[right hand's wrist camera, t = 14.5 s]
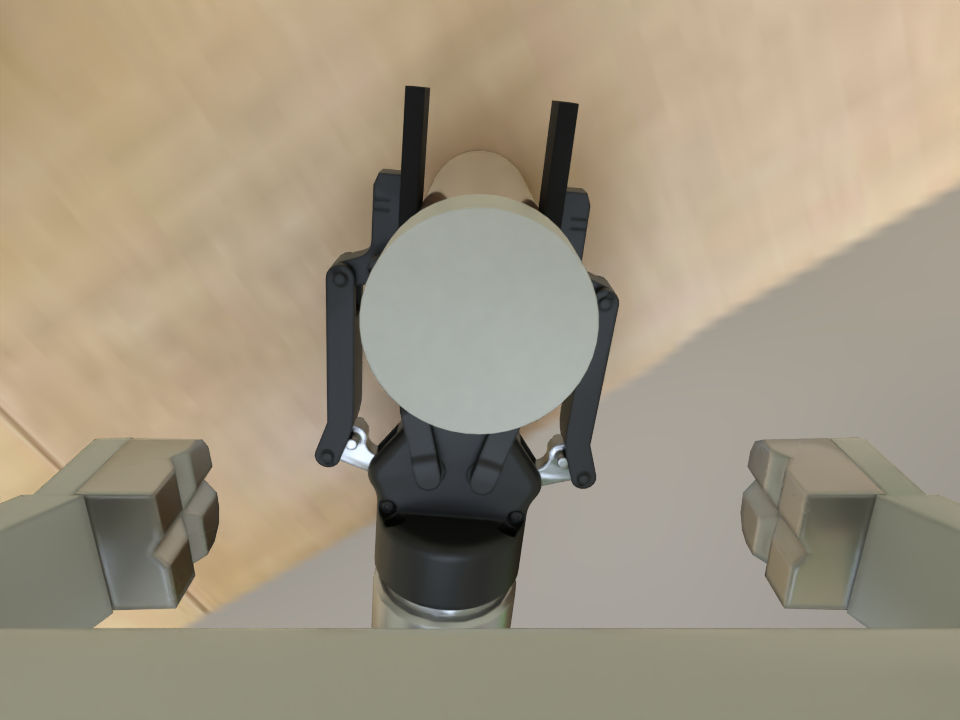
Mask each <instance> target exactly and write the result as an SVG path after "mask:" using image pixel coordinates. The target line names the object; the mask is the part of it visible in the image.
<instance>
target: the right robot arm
mask: <svg viewBox="0 0 960 720" xmlns="http://www.w3.org/2000/svg"><path fill="white" fill-rule="evenodd" d="M211 468H212V462H211V457H210V453H209V448H208V446H207V445H206V444H205V442H204V441H203V440H197V439H142V438H137V439H134V438H104V439H95V440H93V441H92V442H91V443H90V444H89V445H88V446H87V447H86V448H85V449H83V450H82V451H81V452H80V453H79V454H78V455H77V456H76V457H75V458H73V459H72V460H71V461H70V462H69V463H68V464H67V465H66V466H65V467H63V468H62V469H61V470H60V471H59V472H58V473H57V474H56V475H55V476H53V477H52V478H51V479H50V480H49V481H48V482H47V483H46V484H45V485H43V486H42V487H41V488H40V489H39V490H38V491H37V492H36V493H35V494H33V495H20V496H18V497H15V498H13V499H10V500H8V501H5V502H3V503H0V720H960V503H957V502H955V501H952V500H950V499H947V498H945V497H942V496H940V495H927V494H925V493H924V492H923V491H922V490H921V489H920V488H919V487H918V486H917V485H915V484H914V483H913V482H912V481H911V480H910V479H909V478H908V477H907V476H905V475H904V474H903V473H902V472H901V471H900V470H899V469H898V468H897V467H896V466H894V465H893V464H892V463H891V462H890V461H889V460H888V459H887V458H886V457H884V456H883V455H882V454H881V453H880V452H879V451H878V450H877V449H876V448H875V447H873V446H872V445H871V444H870V443H869V442H868V441H867V440H864V439H860V438H835V439H829V438H814V439H772V440H759V441H755V442H754V445H753V447H752V449H751V451H750V456H749V462H748V468H749V470H750V471H751V473H752V474H753V476H754V477H755V479H756V480H755V481H754V482H753V483H752V484H751V485H750V486H749V487H748V488H747V489H746V490H745V491H744V492H743V498H742V506H741V522H742V531H743V534H744V537H745V541H746V544H747V545H748V547H749V549H750V551H751V553H752V554H753V555H754V556H755V557H757V558H759V559H760V560H762V561H764V562H765V563H767V566H766V572H765V577H766V578H767V580H768V582H769V583H770V585H771V587H772V589H773V590H774V592H775V594H776V595H777V597H778V599H779V600H780V602H781V604H782V605H783V607H784V608H789V609H825V610H847V613H848V614H849V615H851V616H852V617H853V618H855V619H856V620H857V621H859V622H860V623H862V624H863V625H864V626H866V627H867V628H93V627H95V626H96V625H97V624H99V623H100V622H101V621H103V620H104V619H106V618H107V617H108V616H110V615H111V614H112V613H113V611H112V610H134V609H170V608H176V607H177V606H178V604H179V602H180V600H181V599H182V597H183V595H184V594H185V592H186V590H187V589H188V587H189V585H190V584H191V582H192V580H193V578H194V577H195V572H194V566H193V563H195V562H196V561H198V560H200V559H201V558H203V557H205V556H206V555H207V554H208V553H209V551H210V549H211V547H212V545H213V543H214V542H215V537H216V533H217V529H218V525H219V504H218V497H217V492H216V491H215V490H214V489H213V488H212V487H211V486H210V485H209V484H208V483H207V482H206V481H205V480H204V479H205V477H206V476H207V474H208V473H209V471H210V470H211Z"/></svg>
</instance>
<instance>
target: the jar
mask: <svg viewBox="0 0 960 720" xmlns="http://www.w3.org/2000/svg"><path fill="white" fill-rule="evenodd" d="M471 194H487V195H497V196H502V197H507V198H510V199H513V200H516V201H519V202H522V203H524V204H526V205H528V206H530V207H532V208H534V209H536V210H537V211H539V209H538V207H537V205H536V203H535V201H534V199H533V197H532V195H531V193H530V191H529V189H528V186H527V184H526V182H525V180H524V178H523V176H522V175H521V173H520V171H519V170H518V169H517V168H516V167H515V165H514V164H512V163H511V162H510V161H509V160H507V159H506V158H505V157H503V156H501V155H499V154H496V153H493V152H489V151H481V150H477V151H469V152H465V153H462V154H460V155H458V156H456V157H454V158H452V159H451V160H450V161H448V162H447V163H446V164H445V165H444V166H443V167H442V168H441V169H440V171H439V172H438V174H437V175H436V177H435V179H434V181H433V183H432V185H431V187H430V189H429V191H428V193H427V195H426V198H425V200H424V202H423V204H422V206H421V208H420V210H419V212H420V211H421V210H422V209H424V208H426V207H428V206H430V205H432V204H434V203H437V202H439V201H442V200H445V199H448V198H452V197H457V196H462V195H471ZM539 212H540V211H539Z"/></svg>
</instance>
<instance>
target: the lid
mask: <svg viewBox="0 0 960 720" xmlns="http://www.w3.org/2000/svg"><path fill="white" fill-rule="evenodd" d="M598 329H599V312H598V305H597V298H596V294H595V291H594V287H593V284H592V281H591V279H590V277H589V275H588V273H587V270H586V268H585V267H584V265H583V263H582V262H581V260H580V258H579V256H578V255H577V253H576V251H575V250H574V248H573V246H572V245H571V243H570V242H569V240H568V238H567V237H566V236H565V235H564V234H563V232H562V231H561V230H560V229H559V228H558V227H557V226H556V225H555V224H554V223H553V222H552V221H551V220H550V219H549V218H547V217H546V216H545V215H543V214H542V213H540V212H539V211H537V210H536V209H534V208H532V207H530V206H528V205H526V204H524V203H522V202H519V201H516V200H513V199H510V198H507V197H502V196H497V195H487V194H471V195H462V196H457V197H452V198H448V199H445V200H442V201H439V202H437V203H434V204H432V205H430V206H428V207H426V208H424V209H422V210H421V211H420V212H418V213H417V214H415V215H414V216H412V217H411V218H410V219H409V220H408V221H406V222H405V223H404V224H403V225H402V226H401V227H400V228H399V229H398V230H397V232H396V233H395V234H394V235H393V236H392V238H391V239H390V241H389V242H388V244H387V245H386V247H385V249H384V250H383V252H382V254H381V255H380V257H379V259H378V260H377V262H376V264H375V265H374V267H373V269H372V271H371V273H370V275H369V278H368V280H367V282H366V285H365V288H364V292H363V295H362V299H361V306H360V335H361V342H362V346H363V349H364V353H365V356H366V359H367V361H368V364H369V366H370V368H371V370H372V372H373V374H374V375H375V377H376V379H377V380H378V382H379V384H380V385H381V386H382V387H383V389H384V390H385V391H386V392H387V394H388V395H389V396H390V397H391V398H392V399H393V400H394V401H395V402H396V403H397V404H398V405H400V406H401V407H402V408H404V409H405V410H406V411H408V412H409V413H410V414H412V415H414V416H415V417H417V418H419V419H420V420H422V421H424V422H427V423H429V424H431V425H433V426H436V427H439V428H442V429H446V430H449V431H454V432H459V433H466V434H492V433H499V432H505V431H509V430H513V429H516V428H519V427H523V426H525V425H527V424H529V423H532V422H534V421H536V420H538V419H540V418H541V417H543V416H545V415H546V414H548V413H549V412H551V411H552V410H553V409H555V408H556V407H557V406H559V405H560V404H561V403H562V402H563V401H564V400H565V399H566V398H567V397H568V396H569V395H570V394H571V393H572V392H573V390H574V389H575V388H576V386H577V385H578V384H579V383H580V381H581V379H582V378H583V376H584V374H585V373H586V371H587V369H588V367H589V364H590V362H591V360H592V357H593V354H594V350H595V347H596V343H597V337H598Z"/></svg>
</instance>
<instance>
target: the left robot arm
mask: <svg viewBox="0 0 960 720" xmlns="http://www.w3.org/2000/svg"><path fill="white" fill-rule="evenodd" d="M429 96H430V88H426V87H417V86H405V105H404V125H403V144H402V163H401V170H391V169H383V170H381V171H380V172H379V174H378V176H377V178H376V180H375V183H374V187H373V214H372V240H371V246H370V247H369V248H367V249H364V250H361V251H357V252H353V253H352V252H347V253H344V254H342V255H341V256H340V257H339V258H338V259H337V260H336V261H335V263H334V264H333V265H332V266H331V268H330V269H329V270H328V272H327V275H326V336H327V425H326V427H325V430H324V432H323V435H322V437H321V439H320V442H319V444H318V447H317V449H316V452H315V458H316V461H317V462H318V463H319V464H320V465H322V466H324V467H333V466H335V465H337V464H338V462H339V461H343V462H345V463H348V464H351V465H353V466H356V467H359V468H361V469H364V470H367V471H368V476H369V480H370V482H371V484H372V485H373V487H374V489H375V491H376V494H377V521H376V543H375V565H376V569H375V573H374V579H373V606H372V628H510V626H511V619H512V612H513V605H514V598H515V589H516V580H515V579H516V577H517V574H518V569H519V562H520V555H521V548H522V542H523V535H524V527H525V521H526V514H527V510H528V507H529V505H530V504H531V502H532V501H533V500H534V499H535V497H536V496H537V495H538V493H539V492H540V489H541V486H543V485H548V484H553V483H558V482H563V481H568V480H571V481H572V483H573V485H574V486H576V487H577V488H580V489H586V488H588V487H591V486H592V485H593V484H594V483H595V481H596V472H595V467H594V462H593V457H592V452H591V447H590V444H591V439H592V434H593V429H594V424H595V419H596V414H597V410H598V405H599V400H600V395H601V390H602V385H603V380H604V375H605V371H606V366H607V361H608V356H609V351H610V346H611V341H612V336H613V331H614V327H615V322H616V317H617V312H618V307H619V299H618V297H617V295H616V294H615V292H614V291H613V289H612V288H611V286H610V284H609V283H608V281H607V280H606V279H605V278H603V277H601V276H595V275H593V274H591V273H589V272H587V273H588V275H589V277H590V279H591V281H592V284H593V287H594V291H595V294H596V298H597V305H598V312H599V329H598V337H597V343H596V347H595V350H594V354H593V357H592V360H591V362H590V364H589V367H588V369H587V371H586V373H585V374H584V376H583V378H582V379H581V381H580V383H579V384H578V385H577V386H576V388H575V389H574V390H573V392H572V393H571V394H570V395H569V396H568V397H567V398H566V399H565V400H564V401H563V402H562V406H561V413H560V431H561V435H560V434H557V435H554V436H553V438H552V439H550V441H549V442H548V445H547V452H546V454H545V455H544V456H543V457H542V458H540V459H537V460H536V458H535V457H534V455H533V454H532V452H531V451H530V449H529V447H528V446H527V444H526V443H525V441H524V440H523V438H522V436H521V435H520V433H519V429H520V427H519V428H516V429H513V430H509V431H505V432H499V433H492V434H466V433H459V432H454V431H449V430H446V429H442V428H439V427H436V426H433V425H431V424H429V423H427V422H424V421H422V420H420V419H419V418H417V417H415V416H414V415H412V414H410V413H409V412H408V411H406V410H405V409H404V408H402V407H401V406H400V413H401V418H402V420H401V422H400V423H399V424H398V425H397V426H396V427H395V428H394V429H393V430H392V431H391V432H390V433H389V434H388V435H387V436H386V438H385V439H384V440H383V441H382V442H381V443H380V444H379V445H378V446H377V445H375V444H373V443H372V442H371V440H370V439H369V426H368V424H367V422H366V421H365V420H364V419H363V418H362V417H357V416H358V413H359V410H360V406H361V400H362V348H363V346H362V342H361V335H360V306H361V299H362V295H363V285H364V284H366V282H367V280H368V278H369V275H370V273H371V271H372V269H373V267H374V265H375V264H376V262H377V260H378V259H379V257H380V255H381V254H382V252H383V250H384V249H385V247H386V245H387V244H388V242H389V241H390V239H391V238H392V236H393V235H394V234H395V233H396V232H397V230H398V229H399V228H400V227H401V226H402V225H403V224H404V223H405V222H406V221H408V220H409V219H410V218H411V217H412V216H414V215H415V214H417V213H418V212H419V210H420V208H421V206H422V204H423V190H424V174H425V158H426V143H427V127H428V112H429ZM578 106H579V104H577V103H571V102H561V101H552V107H551V115H550V122H549V130H548V138H547V146H546V154H545V161H544V169H543V177H542V185H541V193H540V201H539V208H538V209H539V211H540V213H542V214H543V215H545V216H546V217H547V218H549V219H550V220H551V221H552V222H553V223H554V224H555V225H556V226H557V227H558V228H559V229H560V230H561V231H562V232H563V234H564V235H565V236H566V237H567V238H568V240H569V242H570V243H571V245H572V246H573V248H574V250H575V251H576V253H577V255H578V256H579V258H580V260H581V262H582V256H583V250H584V243H585V237H586V229H587V224H588V218H589V211H590V203H589V198H588V194H587V193H586V192H585V191H584V190H583V189H581V188H571V187H567V183H568V176H569V169H570V162H571V155H572V148H573V141H574V134H575V127H576V120H577V113H578Z"/></svg>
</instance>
